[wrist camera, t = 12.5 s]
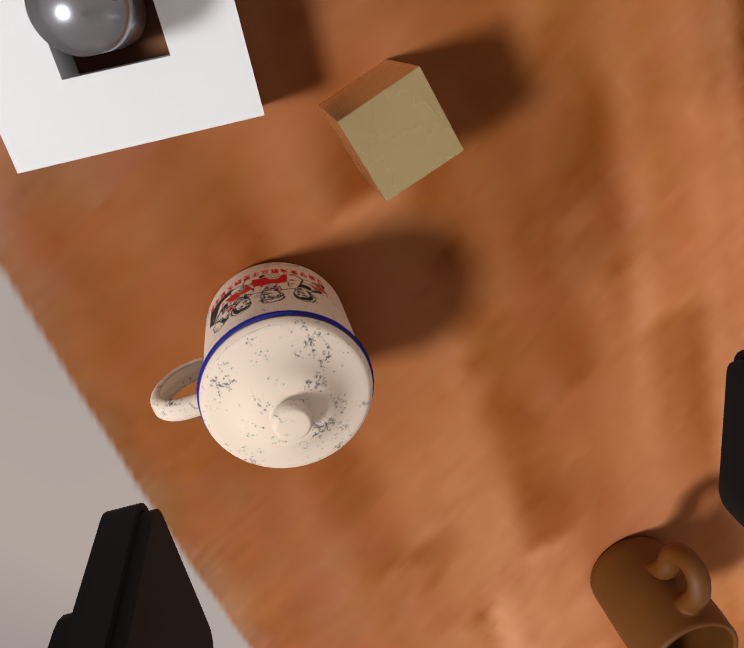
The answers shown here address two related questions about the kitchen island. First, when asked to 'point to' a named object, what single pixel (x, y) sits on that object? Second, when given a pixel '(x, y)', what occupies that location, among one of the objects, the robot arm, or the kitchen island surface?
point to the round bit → (87, 24)
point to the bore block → (122, 86)
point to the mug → (659, 596)
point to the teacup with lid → (275, 370)
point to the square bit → (392, 126)
